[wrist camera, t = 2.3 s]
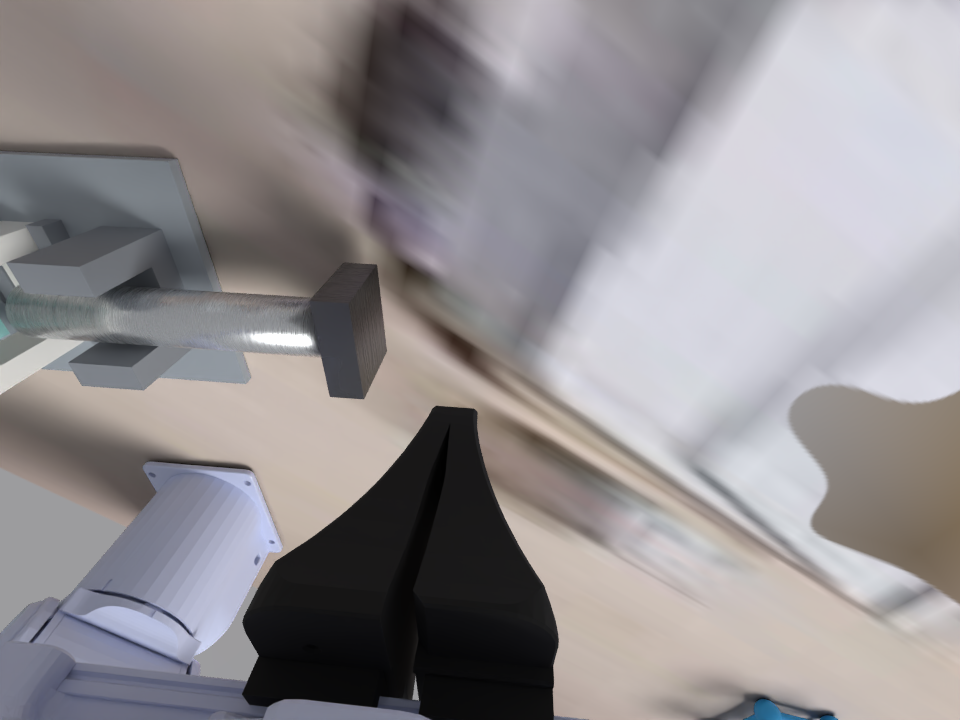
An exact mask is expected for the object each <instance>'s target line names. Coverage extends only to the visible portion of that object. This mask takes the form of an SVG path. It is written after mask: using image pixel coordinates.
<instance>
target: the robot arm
mask: <svg viewBox="0 0 960 720" xmlns="http://www.w3.org/2000/svg"><path fill="white" fill-rule="evenodd" d="M142 468H143V470H144V472H145V474H146V475H147V477H148V479H149V480H150V482H151V484H152V485H153V487H154V489H155V490H156V492H157V493H156V494H155V495H154V497H153V498H152V499H151V500H150V501H149V502H148V504H147V505H146V506H145V507H144V508H143V509H142V511H141V512H140V513H139V514H138V515H137V517H136V518H135V519H134V520H133V521H132V522H131V524H130V525H129V526H128V527H127V528H126V529H125V531H124V532H123V533H122V534H121V535H120V536H119V538H118V539H117V540H116V541H115V542H114V543H113V545H112V546H111V547H110V548H109V549H108V550H107V552H106V553H105V554H104V555H103V556H102V557H101V559H100V560H99V561H98V562H97V563H96V564H95V566H94V567H93V568H92V569H91V570H90V571H89V573H88V574H87V575H86V576H85V577H84V578H83V580H82V581H81V582H80V583H79V584H78V585H77V587H76V588H75V589H74V590H73V591H72V592H71V594H69V595H68V596H67V597H66V598H65V599H63V600H62V601H61V602H60V600H58V599H55V598H53V597H48V598H46V599H44V600H43V601H38V602H35V603H32V604H29V605H28V606H27V607H26V608H24V609H23V610H22V611H21V612H20V613H19V614H18V615H17V616H16V617H15V618H14V619H13V620H12V621H11V622H10V623H9V625H7V626H6V627H5V628H4V629H3V631H2V632H1V633H0V720H587V719H578V718H569V717H560V716H554V711H553V687H554V674H553V664H554V660H555V657H556V653H557V649H558V643H559V638H558V631H557V626H556V621H555V618H554V614H553V611H552V608H551V605H550V601H549V599H548V596H547V593H546V590H545V587H544V585H543V583H542V582H541V580H540V579H539V577H538V576H537V574H536V573H535V571H534V570H533V568H532V567H531V565H530V563H529V562H528V560H527V559H526V557H525V555H524V553H523V552H522V550H521V548H520V547H519V545H518V543H517V541H516V539H515V537H514V535H513V533H512V531H511V530H510V528H509V526H508V524H507V522H506V520H505V518H504V515H503V513H502V511H501V509H500V507H499V504H498V502H497V499H496V497H495V494H494V492H493V489H492V486H491V483H490V480H489V477H488V474H487V471H486V468H485V464H484V461H483V457H482V453H481V449H480V444H479V438H478V432H477V411H476V410H475V409H471V408H457V407H444V406H435V407H434V408H433V409H432V411H431V413H430V414H429V416H428V418H427V419H426V421H425V422H424V424H423V426H422V427H421V429H420V430H419V431H418V433H417V434H416V436H415V437H414V438H413V440H412V441H411V442H410V444H409V445H408V447H407V448H406V449H405V451H404V452H403V453H402V454H401V456H400V457H399V458H398V459H397V460H396V461H395V463H394V464H393V465H392V466H391V467H390V468H389V470H388V471H387V472H386V473H385V474H384V475H383V476H382V477H381V478H380V480H379V481H378V482H377V483H376V484H375V485H374V486H373V487H372V488H371V489H370V490H369V491H368V492H367V493H366V494H365V495H363V496H362V497H361V498H360V499H359V500H358V501H357V502H356V503H355V504H353V505H352V506H351V507H350V508H349V509H348V510H347V511H345V512H344V513H343V514H342V515H341V516H339V517H338V518H337V519H336V520H334V521H333V522H332V523H330V524H329V525H328V526H326V527H325V528H324V529H322V530H321V531H320V532H319V533H317V534H316V535H315V536H313V537H312V538H310V539H309V540H308V541H306V542H304V543H303V544H301V545H300V546H298V547H297V548H295V549H294V550H292V551H291V552H289V553H288V554H286V555H285V556H283V557H282V558H280V559H278V560H277V561H275V563H274V564H273V566H272V567H271V569H270V570H269V572H268V573H267V575H266V576H265V578H264V579H263V581H262V583H261V584H260V586H259V588H258V590H257V592H256V594H255V596H254V598H253V600H252V602H251V604H250V606H249V607H248V609H247V611H246V614H245V615H244V618H243V622H242V623H243V626H244V629H245V632H246V634H247V636H248V638H249V639H250V641H251V643H252V645H253V646H254V648H255V650H256V651H257V653H258V655H259V657H258V659H257V661H256V664H255V666H254V668H253V670H252V672H251V675H250V677H249V679H248V681H240V680H231V679H222V678H214V677H205V676H200V663H199V662H198V661H197V660H195V659H193V658H194V656H195V655H197V654H199V653H201V652H203V651H204V650H206V649H207V648H209V647H210V646H211V645H212V644H214V643H215V642H216V641H217V640H218V639H219V638H220V637H221V636H222V635H223V634H224V633H225V632H226V630H227V629H228V628H229V626H230V625H231V623H232V622H233V620H234V618H235V616H236V614H237V612H238V610H239V608H240V606H241V604H242V603H243V600H244V599H245V597H246V595H247V593H248V591H249V589H250V587H251V585H252V583H253V582H254V580H255V578H256V576H257V574H258V572H259V570H260V568H261V566H262V564H263V562H264V561H265V559H266V557H267V555H268V553H269V552H275V553H278V552H280V551H281V550H282V548H283V546H282V543H281V541H280V538H279V536H278V533H277V530H276V528H275V525H274V523H273V520H272V518H271V515H270V513H269V510H268V508H267V505H266V503H265V500H264V497H263V495H262V492H261V490H260V487H259V485H258V482H257V480H256V477H255V475H254V473H253V472H252V471H250V470H245V469H233V468H222V467H210V466H198V465H186V464H174V463H162V462H146V463H145V464H144V465H143V467H142ZM415 675H416V682H417V689H418V696H419V701H418V700H412V697H413V690H414V683H415Z"/></svg>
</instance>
